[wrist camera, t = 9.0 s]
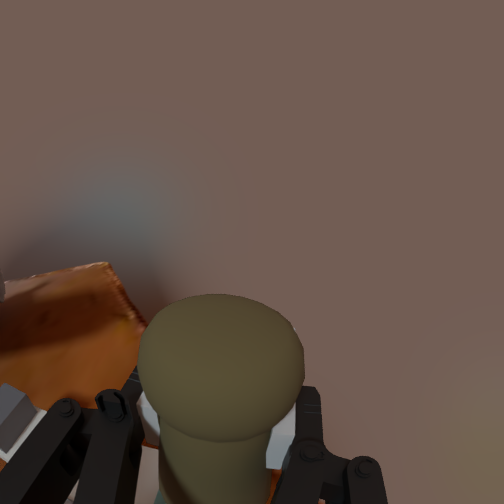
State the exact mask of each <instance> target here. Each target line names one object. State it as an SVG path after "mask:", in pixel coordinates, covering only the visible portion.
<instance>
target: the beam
mask: <svg viewBox="0 0 504 504" xmlns="http://www.w3.org/2000/svg"><path fill="white" fill-rule="evenodd" d="M46 413H47V412H46V411H44V410H42V409H40V408H38V407H36V406H34V405H33V404H32V403H31V401H30V399H29V398H28V396H27V394H25V393H23V392H21V391H19V390H17V389H16V388H14V387H12V386H10V385H8V384H6V383H4V384H3V385H2V386H1V387H0V457H1V458H2V459H3V460H4V461H6V462H7V463H8V461H9V460H10V459H11V457H12V456H13V455H14V453H15V452H16V451H17V449H18V448H19V447H20V446H21V444H22V443H23V442H24V440H25V439H26V438H27V437H28V435H29V434H30V433H31V431H32V430H33V429H34V428H35V426H36V425H37V424H38V423H39V421H40V420H41V419H42V418H43V416H44V415H45V414H46ZM78 482H79V480H78V481H77V483H76V485H75V486H74V488H73V490H72V491H71V493H70V495H69V496H68V498H67V500H68V501H70V502H72V503H73V502H74V498H75V493H76V489H77V486H78ZM134 504H166V503H165V501H164V499H163V496H162V494H161V492H160V490H159V480H158V450H157V449H153V448H149V447H145V446H142V456H141V462H140V468H139V475H138V481H137V488H136V496H135V503H134Z"/></svg>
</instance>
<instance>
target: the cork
mask: <svg viewBox="0 0 504 504" xmlns="http://www.w3.org/2000/svg"><path fill="white" fill-rule="evenodd" d="M137 370H138V375H139V380H140V383H141V385H142V388H143V391H144V394H145V396H146V399H147V401H148V402H149V404H150V405H151V407H152V408H153V410H154V411H155V412H156V413H157V414H158V415H159V416H160V435H159V446H158V480H159V490H160V492H161V494H162V496H163V499H164V501H165V503H166V504H266V502H267V500H268V498H269V496H270V488H271V476H272V469H270V468H266V451H267V448H268V443H269V439H270V434H271V430H272V428H273V427H274V426H275V425H277V424H278V423H279V422H280V421H281V420H282V419H283V418H284V417H285V416H286V415H287V414H288V413H289V412H290V410H291V409H292V408H293V406H294V404H295V401H296V399H297V397H298V395H299V393H300V390H301V387H302V384H303V382H304V379H305V370H304V350H303V346H302V344H301V342H300V340H299V338H298V336H297V334H296V332H295V330H294V328H293V327H292V325H291V323H290V322H289V321H288V320H287V319H286V318H284V317H283V316H282V315H281V314H280V313H279V312H277V311H275V310H273V309H272V308H270V307H268V306H266V305H264V304H262V303H259V302H257V301H254V300H251V299H248V298H244V297H240V296H233V295H226V294H206V295H200V296H193V297H188V298H185V299H182V300H180V301H177V302H174V303H171V304H169V305H168V306H166V307H165V308H163V309H162V310H161V311H159V312H158V313H157V314H156V315H155V317H154V318H153V320H152V321H151V322H150V324H149V325H148V327H147V328H146V330H145V331H144V333H143V334H142V336H141V341H140V347H139V354H138V361H137Z"/></svg>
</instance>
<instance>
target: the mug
mask: <svg viewBox="0 0 504 504" xmlns="http://www.w3.org/2000/svg"><path fill="white" fill-rule="evenodd" d="M4 294H5V284H4V275H3V273H2V272H1V270H0V302H1V303H3V302H4Z"/></svg>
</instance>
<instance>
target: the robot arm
mask: <svg viewBox="0 0 504 504" xmlns="http://www.w3.org/2000/svg"><path fill="white" fill-rule="evenodd" d="M294 330H295V328H294ZM95 401H96V404H97V407H98V409H89V408H81V407H80V405H79V403H78V402H76V401H75V400H73V399H70V398H63V399H60V400H58V401H57V402H55V403H54V404H53V405H52V407H51V408H50V409H49V410H48V412H47V413H46V414H45V415H44V416H43V418H42V419H41V420H40V421H39V423H38V424H37V425H36V426H35V428H34V429H33V430H32V431H31V433H30V434H29V435H28V437H27V438H26V439H25V440H24V442H23V443H22V444H21V446H20V447H19V448H18V449H17V451H16V452H15V453H14V455H13V456H12V457H11V459H10V460H9V461H8V463H7V464H6V465H5V467H4V468H3V469H2V471H1V472H0V504H64V503H65V502H66V500H67V498H68V496H69V495H70V493H71V491H72V490H73V488H74V486H75V485H76V483H77V481H78V480H79V482H78V486H77V489H76V493H75V498H74V502H73V504H134V503H135V496H136V488H137V481H138V475H139V468H140V462H141V456H142V445H141V444H142V442H143V439H144V437H145V439H146V443H149V444H152V445H155V446H159V435H160V416H159V415H158V414H157V413H156V412H155V411H154V410H153V408H152V407H151V405H150V404H149V402H148V401H147V399H146V396H145V394H144V391H143V388H142V385H141V383H140V380H139V375H138V370H137V365H136V367H135V369H134V370H133V373H131V375H130V376H129V379H128V380H127V381H126V383H125V384H124V386H123V388H122V389H121V391H119V390H116V389H107V390H103V391H101V392H100V393H98V394H97V396H96V397H95ZM281 467H282V474H281V476H280V478H279V480H278V482H277V485H276V486H277V487H276V489H275V492H274V495H273V498H272V500H271V503H270V504H318V501H319V498H320V499H323V500H325V504H388V502H387V497H386V491H385V487H384V481H383V477H382V472H381V468H380V466H379V464H378V462H377V461H376V460H375V459H373V458H371V457H368V456H359V457H355V458H354V459H352V460H348V459H345V458H341V457H338V456H336V455H333V454H332V453H330V452H329V451H328V450H327V449H326V447H325V445H324V442H323V429H322V415H321V401H320V395H319V393H318V391H317V390H316V388H315V387H310V386H302V387H301V390H300V393H299V395H298V397H297V399H296V401H295V404H294V406H293V408H292V409H291V410H290V412H289V413H288V414H287V415H286V416H285V417H284V418H283V419H282V420H281V421H280V422H279V423H278V424H277V425H275V426H274V427H273V428H272V430H271V434H270V439H269V443H268V448H267V451H266V468H270V469H281Z"/></svg>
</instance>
